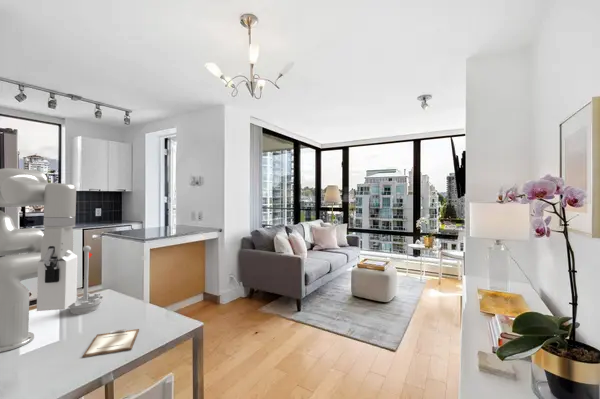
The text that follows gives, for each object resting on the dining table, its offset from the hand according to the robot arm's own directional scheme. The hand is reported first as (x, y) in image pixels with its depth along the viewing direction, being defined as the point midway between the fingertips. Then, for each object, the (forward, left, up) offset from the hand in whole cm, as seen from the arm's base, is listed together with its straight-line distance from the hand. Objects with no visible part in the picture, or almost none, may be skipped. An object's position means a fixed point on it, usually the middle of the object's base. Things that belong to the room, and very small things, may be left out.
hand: (58, 278), depth 86 cm
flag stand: (-7, +49, -28) cm, 57 cm away
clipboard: (+13, +10, -28) cm, 32 cm away
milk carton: (0, 0, -9) cm, 9 cm away
